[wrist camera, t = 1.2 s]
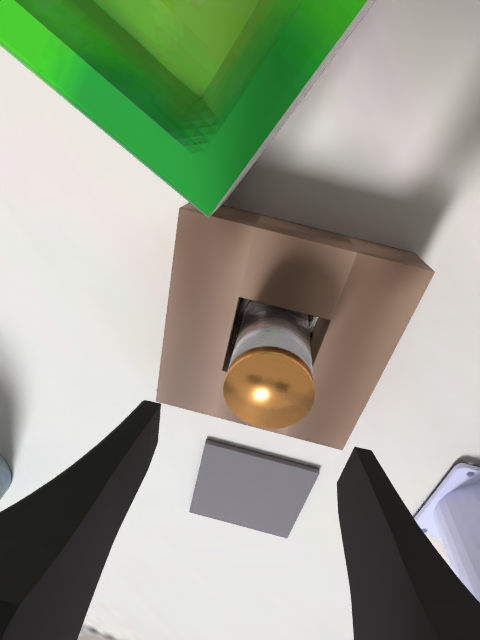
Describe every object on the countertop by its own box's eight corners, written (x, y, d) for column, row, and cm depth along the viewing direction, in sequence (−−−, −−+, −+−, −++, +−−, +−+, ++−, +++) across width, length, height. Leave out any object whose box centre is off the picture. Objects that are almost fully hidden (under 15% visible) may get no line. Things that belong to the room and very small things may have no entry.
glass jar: (317, 300, 20) (327, 370, 14) (297, 355, 22) (299, 437, 16) (251, 283, 20) (232, 346, 14) (237, 339, 22) (216, 415, 16)
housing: (414, 252, 18) (434, 272, 16) (337, 416, 24) (342, 450, 21) (195, 198, 18) (179, 208, 16) (170, 372, 24) (156, 401, 22)
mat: (318, 469, 27) (319, 473, 26) (287, 533, 31) (287, 538, 30) (206, 439, 27) (205, 443, 26) (190, 507, 31) (189, 512, 31)
